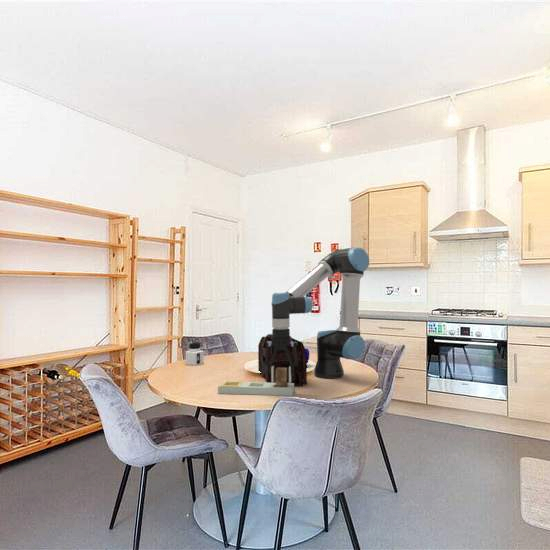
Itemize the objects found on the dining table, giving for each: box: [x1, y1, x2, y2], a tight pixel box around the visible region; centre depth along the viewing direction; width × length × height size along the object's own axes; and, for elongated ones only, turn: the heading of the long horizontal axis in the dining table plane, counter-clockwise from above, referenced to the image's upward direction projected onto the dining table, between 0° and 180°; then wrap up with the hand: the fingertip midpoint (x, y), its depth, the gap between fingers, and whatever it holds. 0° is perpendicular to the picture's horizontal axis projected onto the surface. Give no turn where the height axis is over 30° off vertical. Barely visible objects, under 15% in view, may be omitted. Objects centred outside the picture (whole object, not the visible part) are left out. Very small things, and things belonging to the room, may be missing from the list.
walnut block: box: [275, 368, 287, 387], centre depth 170 cm, size 4×4×9 cm
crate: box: [257, 333, 308, 388], centre depth 197 cm, size 35×19×21 cm, turn 11°
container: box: [185, 341, 205, 366], centre depth 237 cm, size 8×8×13 cm
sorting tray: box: [217, 380, 295, 397], centre depth 172 cm, size 32×9×3 cm, turn 82°
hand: (281, 381), depth 170 cm, fingers open, 7 cm apart
